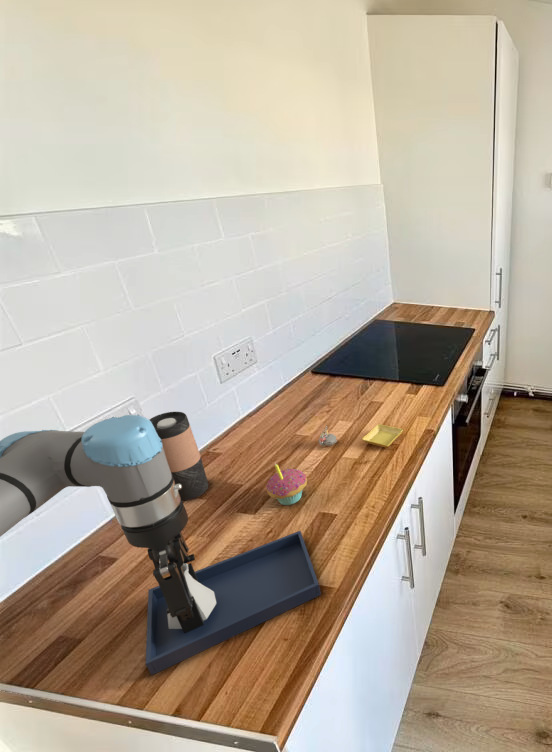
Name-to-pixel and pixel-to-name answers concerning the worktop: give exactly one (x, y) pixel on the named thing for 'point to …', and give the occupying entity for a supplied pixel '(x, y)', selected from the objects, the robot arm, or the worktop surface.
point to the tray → (234, 599)
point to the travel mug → (181, 453)
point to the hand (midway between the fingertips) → (192, 609)
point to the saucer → (382, 435)
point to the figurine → (327, 438)
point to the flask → (196, 599)
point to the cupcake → (286, 485)
